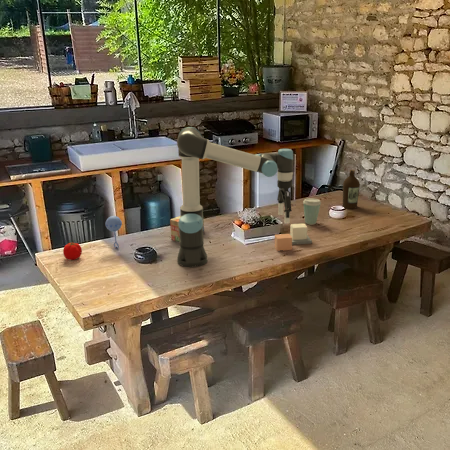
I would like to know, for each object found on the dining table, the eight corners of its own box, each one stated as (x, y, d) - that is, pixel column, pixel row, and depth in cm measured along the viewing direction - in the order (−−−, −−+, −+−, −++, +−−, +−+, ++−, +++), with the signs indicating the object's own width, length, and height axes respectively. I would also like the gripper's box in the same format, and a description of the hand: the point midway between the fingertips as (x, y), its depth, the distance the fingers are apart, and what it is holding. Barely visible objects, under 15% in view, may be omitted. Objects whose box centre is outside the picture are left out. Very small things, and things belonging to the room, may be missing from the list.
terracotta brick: (277, 251, 261) (277, 238, 258) (274, 246, 266) (274, 234, 264) (291, 250, 262) (292, 237, 259) (289, 245, 267) (289, 233, 265)
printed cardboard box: (196, 229, 295) (195, 209, 291) (204, 231, 291) (203, 211, 287) (171, 239, 279) (169, 219, 275) (179, 242, 275) (178, 221, 271)
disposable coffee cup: (302, 219, 306) (303, 196, 301) (320, 220, 304) (321, 197, 299) (301, 225, 297) (302, 201, 292) (319, 226, 295) (321, 202, 289)
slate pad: (290, 244, 268) (290, 242, 268) (285, 236, 279) (285, 234, 279) (311, 243, 270) (312, 240, 269) (305, 235, 281) (305, 233, 280)
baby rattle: (104, 247, 269) (101, 216, 263) (117, 243, 275) (114, 212, 269) (114, 252, 263) (110, 220, 257) (127, 247, 269) (124, 215, 263)
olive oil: (338, 205, 333) (341, 168, 324) (353, 204, 335) (356, 167, 326) (345, 210, 323) (348, 172, 314) (360, 208, 325) (363, 171, 316)
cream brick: (292, 239, 271) (293, 227, 268) (290, 236, 276) (290, 224, 274) (306, 239, 272) (307, 227, 269) (303, 235, 277) (304, 223, 275)
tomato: (66, 263, 250) (64, 248, 247) (61, 257, 258) (59, 242, 255) (85, 259, 255) (83, 244, 252) (79, 253, 263) (77, 238, 260)
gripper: (298, 185, 240) (297, 226, 247) (286, 173, 264) (285, 211, 271) (283, 186, 239) (282, 227, 247) (272, 174, 263) (271, 212, 270)
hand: (283, 219), depth 259 cm, fingers open, 13 cm apart
